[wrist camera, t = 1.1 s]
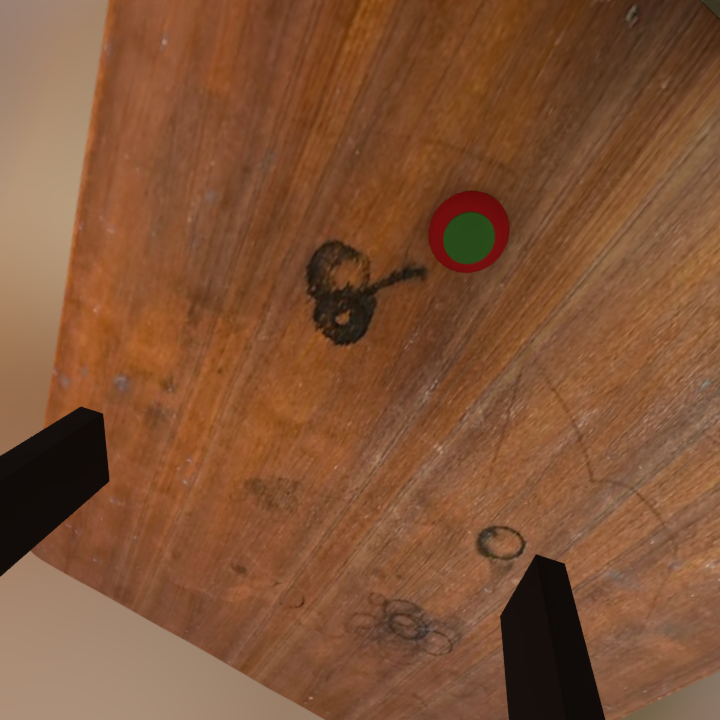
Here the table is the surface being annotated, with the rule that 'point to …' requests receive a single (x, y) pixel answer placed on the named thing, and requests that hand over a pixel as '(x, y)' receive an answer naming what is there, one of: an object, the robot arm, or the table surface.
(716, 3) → the pedestal
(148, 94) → the table surface
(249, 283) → the table surface
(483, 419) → the table surface
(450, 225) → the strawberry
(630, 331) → the table surface
